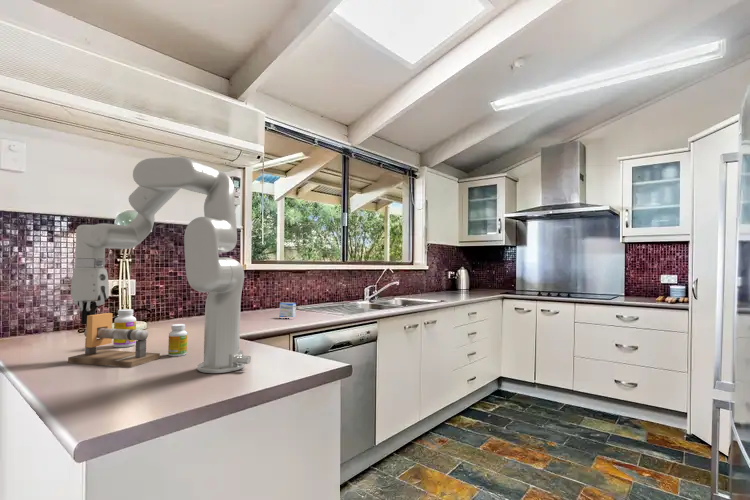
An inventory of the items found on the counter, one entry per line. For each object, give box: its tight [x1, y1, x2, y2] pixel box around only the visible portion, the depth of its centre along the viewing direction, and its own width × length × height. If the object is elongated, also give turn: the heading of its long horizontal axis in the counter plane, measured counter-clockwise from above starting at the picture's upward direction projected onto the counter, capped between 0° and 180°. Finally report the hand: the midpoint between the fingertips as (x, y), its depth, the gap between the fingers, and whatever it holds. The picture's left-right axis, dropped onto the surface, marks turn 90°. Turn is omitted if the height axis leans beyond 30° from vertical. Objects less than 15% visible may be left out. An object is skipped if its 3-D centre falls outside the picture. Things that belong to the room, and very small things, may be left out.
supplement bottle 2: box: [167, 323, 188, 357], centre depth 129 cm, size 5×5×10 cm
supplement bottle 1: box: [112, 308, 137, 348], centre depth 141 cm, size 7×7×13 cm
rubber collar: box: [85, 312, 113, 348], centre depth 122 cm, size 2×7×9 cm, turn 168°
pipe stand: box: [67, 327, 161, 368], centre depth 120 cm, size 22×11×10 cm, turn 78°
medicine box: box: [278, 302, 297, 317], centre depth 215 cm, size 8×4×9 cm, turn 81°
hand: (87, 323), depth 123 cm, fingers closed
